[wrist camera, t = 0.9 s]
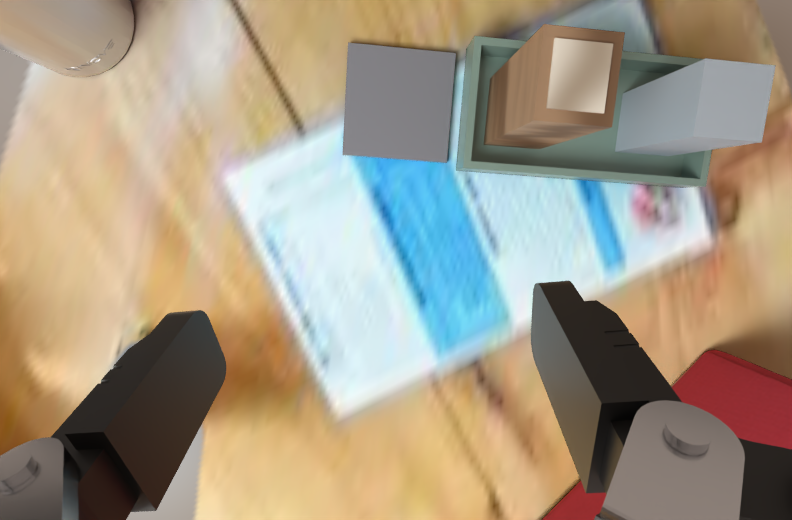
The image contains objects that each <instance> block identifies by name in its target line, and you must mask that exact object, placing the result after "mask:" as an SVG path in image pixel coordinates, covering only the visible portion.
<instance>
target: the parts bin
mask: <svg viewBox="0 0 792 520" xmlns="http://www.w3.org/2000/svg"><path fill="white" fill-rule="evenodd" d="M526 42H527V41H520V40H510V39H500V38H490V37H480V36H474V38H473V40H472V41H471V43H470V44H469V46H468V47H467V49H466V60H465V72H464V83H463V95H462V106H461V118H460V130H459V141H458V153H457V164H456V171H469V172H482V173H495V174H509V175H522V176H535V177H548V178H561V179H574V180H588V181H601V182H614V183H627V184H640V185H653V186H667V187H680V188H684V187H706V182H707V176H708V170H709V164H710V158H711V152H712V150H706V151H700V152H693V153H686V154H680V155H673V156H659V155H646V154H634V153H622V152H615V148H616V140H617V133H618V126H619V118H620V111H621V104H622V96H623V93H625V92H628V91H630V90H632V89H635V88H637V87H639V86H642V85H644V84H646V83H649V82H651V81H654V80H656V79H658V78H661V77H663V76H665V75H668V74H670V73H672V72H675V71H677V70H680V69H682V68H684V67H687V66H689V65H691V64H694V63H696V62H698V61H701V60H703V59H697V58H687V57H677V56H668V55H658V54H648V53H638V52H628V51H622V57H621V64H620V72H619V79H618V87H617V94H616V102H615V109H614V117H613V124H612V127H611V128H608V129H604V130H601V131H598V132H594V133H591V134H588V135H585V136H581V137H578V138H575V139H571V140H568V141H565V142H562V143H558V144H555V145H552V146H548V147H545V148H542V149H530V148H517V147H505V146H493V145H484V136H485V125H486V115H487V104H488V93H489V83H490V78H491V77H492V76H493V75H494V74H495V73H496V72H497V71H498V70H499V69H500V68H501V67H502V66H503V65H504V64H505V63H506V62H507V61H508V60H509V59H510V58H511V57H512V56H513V55H514V54H515V53H516V52H517V51H518V50H519V49H520V48H521V47H522V46H523V45H524V44H525V43H526Z"/></svg>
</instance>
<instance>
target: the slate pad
mask: <svg viewBox="0 0 792 520" xmlns="http://www.w3.org/2000/svg"><path fill="white" fill-rule="evenodd" d="M455 58H456V53H449V52H439V51H429V50H419V49H408V48H398V47H388V46H378V45H368V44H357V43H348V57H347V77H346V97H345V118H344V138H343V155H346V156H359V157H372V158H385V159H398V160H411V161H424V162H437V163H447V154H448V142H449V130H450V118H451V106H452V94H453V82H454V70H455Z"/></svg>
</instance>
